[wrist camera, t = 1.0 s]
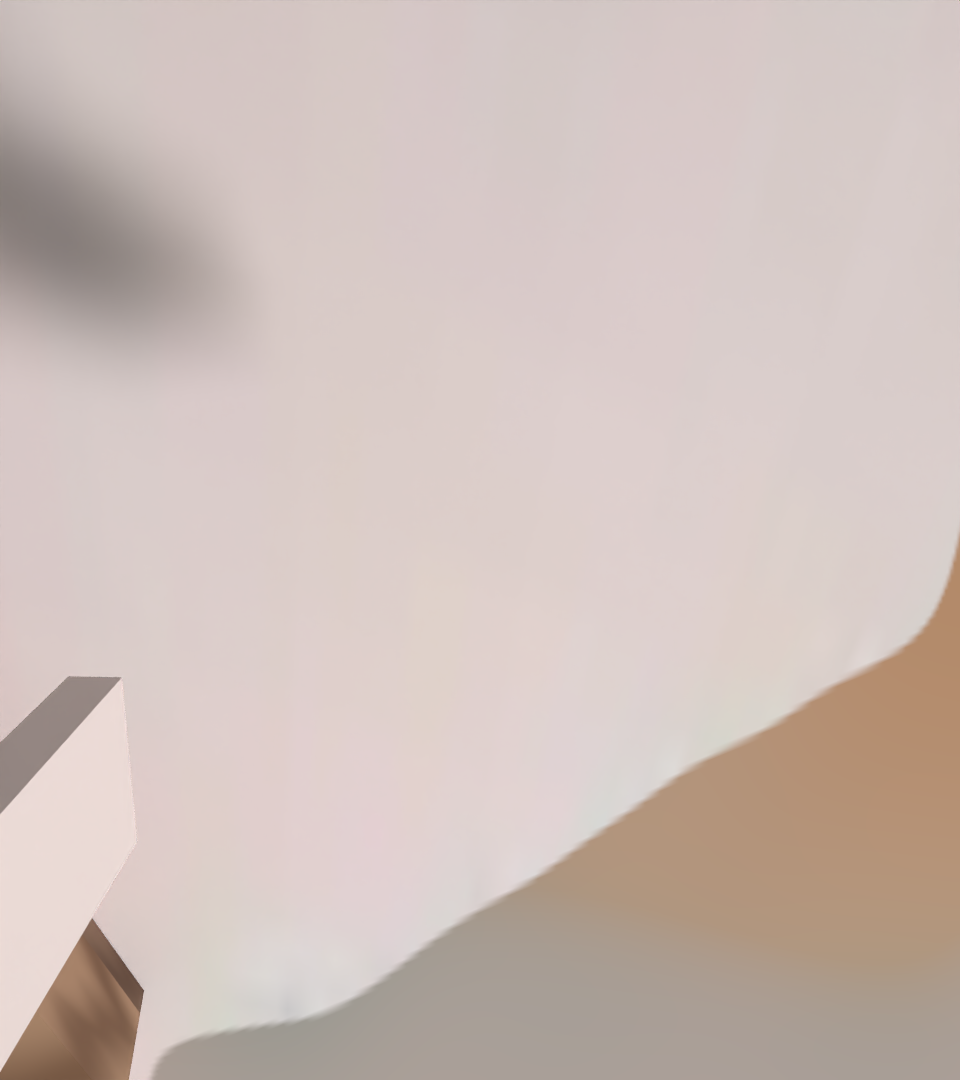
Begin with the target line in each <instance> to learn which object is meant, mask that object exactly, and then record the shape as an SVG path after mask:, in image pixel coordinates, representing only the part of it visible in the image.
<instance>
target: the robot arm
mask: <svg viewBox="0 0 960 1080" xmlns="http://www.w3.org/2000/svg"><path fill="white" fill-rule="evenodd" d="M136 843H137V832H136V821H135V811H134V800H133V790H132V779H131V768H130V758H129V747H128V736H127V726H126V715H125V704H124V694H123V683H122V678H121V677H70V676H69V677H67V678H66V679H65V680H64V681H63V682H62V683H61V684H60V685H59V686H58V687H57V688H56V689H55V690H54V691H53V692H52V693H51V694H50V695H49V696H48V697H47V698H46V699H45V700H44V701H43V702H42V703H41V704H40V705H39V706H38V707H37V708H36V709H34V710H33V711H32V712H31V713H30V714H29V715H28V716H27V717H26V718H25V719H24V720H23V721H22V722H21V723H20V724H19V725H18V726H17V727H16V728H15V729H14V730H13V731H12V732H11V733H10V734H9V735H8V736H7V737H6V738H5V739H4V740H3V741H1V742H0V1071H1V1070H2V1068H3V1066H4V1065H5V1063H6V1061H7V1060H8V1058H9V1056H10V1055H11V1053H12V1051H13V1049H14V1048H15V1046H16V1044H17V1043H18V1041H19V1039H20V1038H21V1036H22V1034H23V1033H24V1031H25V1029H26V1028H27V1026H28V1024H29V1023H30V1021H31V1019H32V1018H33V1016H34V1014H35V1013H36V1011H37V1009H38V1008H39V1006H40V1004H41V1003H42V1001H43V999H44V997H45V996H46V994H47V992H48V991H49V989H50V987H51V986H52V984H53V982H54V981H55V979H56V977H57V976H58V974H59V972H60V971H61V969H62V967H63V966H64V964H65V962H66V961H67V959H68V957H69V956H70V954H71V952H72V951H73V949H74V947H75V946H76V944H77V942H78V940H79V939H80V937H81V935H82V934H83V932H84V930H85V929H86V927H87V925H88V924H89V922H90V920H91V919H92V917H93V915H94V914H95V912H96V910H97V909H98V907H99V905H100V904H101V902H102V900H103V899H104V897H105V895H106V894H107V892H108V890H109V888H110V887H111V885H112V883H113V882H114V880H115V878H116V877H117V875H118V873H119V872H120V870H121V868H122V867H123V865H124V863H125V862H126V860H127V858H128V857H129V855H130V853H131V852H132V850H133V848H134V847H135V845H136Z"/></svg>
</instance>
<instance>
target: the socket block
mask: <svg viewBox="0 0 960 1080" xmlns="http://www.w3.org/2000/svg"><path fill="white" fill-rule="evenodd" d="M143 993H144V990H143V989H142V987H141V986H140V985H139V983H138V982H137V980H136V979H135V978H134V976H133V975H132V974H131V972H130V971H129V969H128V968H127V967H126V965H125V964H124V962H123V961H122V960H121V958H120V957H119V955H118V954H117V953H116V951H115V950H114V948H113V947H112V946H111V944H110V943H109V941H108V940H107V939H106V937H105V936H104V934H103V933H102V932H101V930H100V929H99V927H98V926H97V925H96V923H95V922H94V920H93V919H91V920H90V922H89V924H88V925H87V927H86V929H85V930H84V932H83V934H82V935H81V937H80V939H79V940H78V942H77V944H76V946H75V947H74V949H73V951H72V952H71V954H70V956H69V957H68V959H67V961H66V962H65V964H64V966H63V967H62V969H61V971H60V972H59V974H58V976H57V977H56V979H55V981H54V982H53V984H52V986H51V987H50V989H49V991H48V992H47V994H46V996H45V997H44V999H43V1001H42V1003H41V1004H40V1006H39V1008H38V1009H37V1011H36V1013H35V1014H34V1016H33V1018H32V1019H31V1021H30V1023H29V1024H28V1026H27V1028H26V1029H25V1031H24V1033H23V1034H22V1036H21V1038H20V1039H19V1041H18V1043H17V1044H16V1046H15V1048H14V1049H13V1051H12V1053H11V1055H10V1056H9V1058H8V1060H7V1061H6V1063H5V1065H4V1066H3V1068H2V1070H1V1071H0V1080H129V1075H130V1069H131V1063H132V1057H133V1051H134V1045H135V1040H136V1034H137V1028H138V1022H139V1016H140V1010H141V1005H142V999H143Z"/></svg>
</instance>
